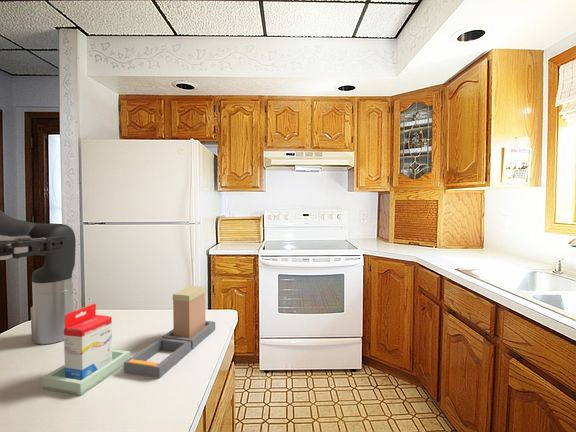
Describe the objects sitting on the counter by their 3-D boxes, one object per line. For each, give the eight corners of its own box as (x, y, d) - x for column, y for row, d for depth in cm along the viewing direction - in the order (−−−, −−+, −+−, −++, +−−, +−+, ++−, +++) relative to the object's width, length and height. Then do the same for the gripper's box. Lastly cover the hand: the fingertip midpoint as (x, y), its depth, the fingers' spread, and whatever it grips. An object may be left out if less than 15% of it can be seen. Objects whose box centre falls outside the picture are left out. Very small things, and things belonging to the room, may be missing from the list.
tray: (42, 388, 66) (42, 377, 66) (97, 356, 79) (96, 346, 79) (80, 395, 63) (80, 383, 63) (130, 361, 77) (130, 351, 77)
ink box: (82, 383, 66) (81, 316, 66) (64, 380, 68) (62, 314, 67) (113, 363, 75) (112, 303, 74) (96, 361, 76) (95, 302, 75)
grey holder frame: (124, 372, 72) (124, 361, 72) (188, 326, 99) (188, 317, 98) (159, 378, 70) (159, 366, 70) (215, 329, 96) (215, 320, 96)
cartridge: (173, 343, 87) (172, 294, 86) (190, 330, 96) (190, 285, 95) (189, 345, 86) (189, 295, 85) (205, 331, 95) (205, 286, 94)
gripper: (-29, 230, 43) (75, 223, 59) (-98, 227, 47) (18, 221, 62) (-26, 283, 44) (76, 261, 60) (-95, 277, 47) (19, 258, 63)
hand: (46, 241), depth 61 cm, fingers open, 8 cm apart
